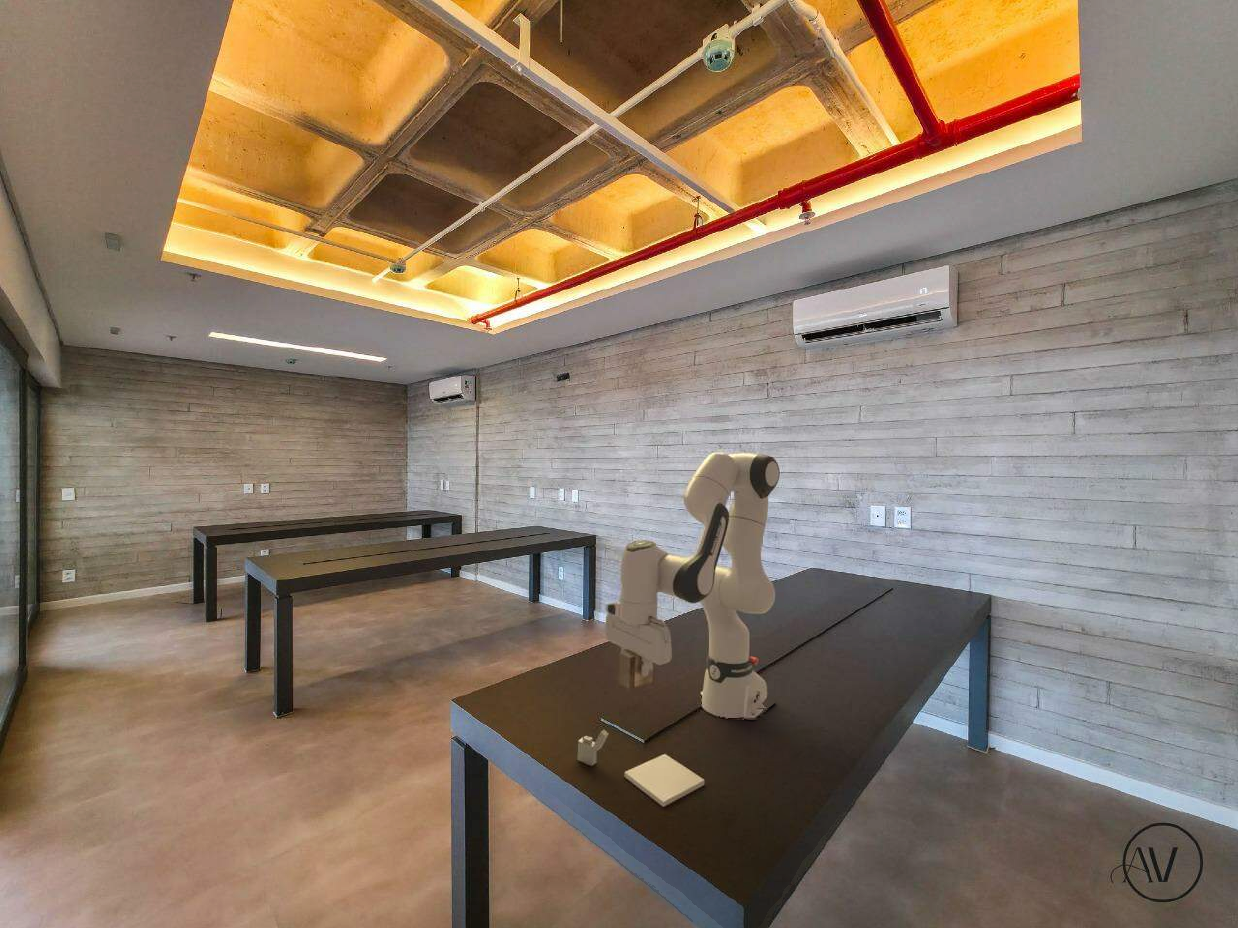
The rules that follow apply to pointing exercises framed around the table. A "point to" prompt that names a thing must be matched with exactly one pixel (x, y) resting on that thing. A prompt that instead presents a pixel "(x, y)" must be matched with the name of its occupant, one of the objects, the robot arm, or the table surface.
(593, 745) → the lighter
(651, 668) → the block
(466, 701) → the table surface
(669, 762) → the tile
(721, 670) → the robot arm
